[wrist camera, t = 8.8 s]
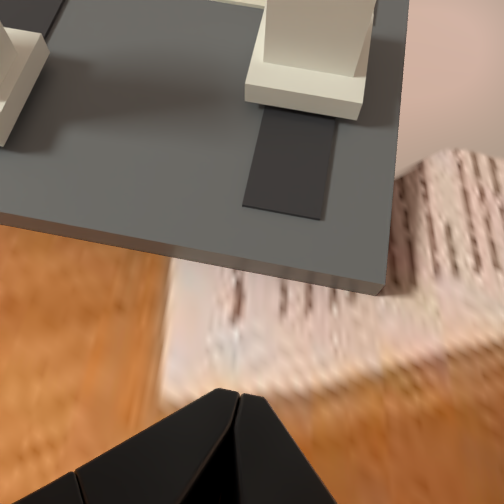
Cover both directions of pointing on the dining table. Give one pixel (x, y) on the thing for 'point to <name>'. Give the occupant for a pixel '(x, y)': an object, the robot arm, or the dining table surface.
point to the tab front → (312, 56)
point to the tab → (18, 73)
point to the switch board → (200, 143)
